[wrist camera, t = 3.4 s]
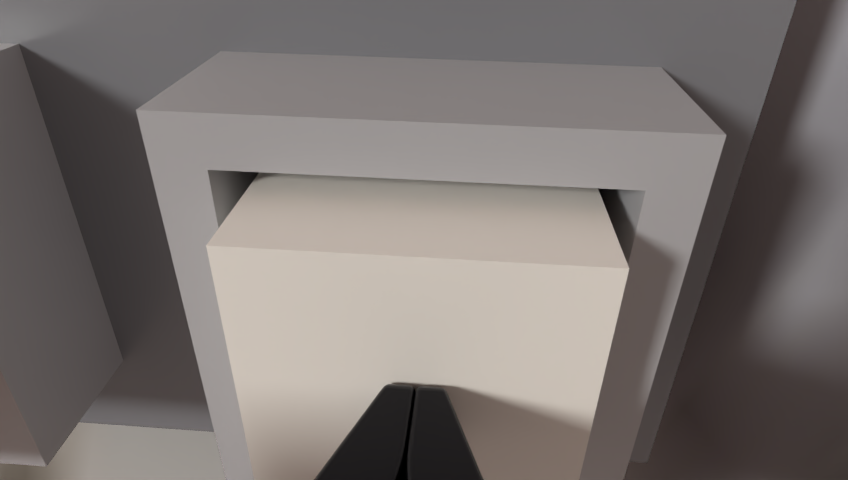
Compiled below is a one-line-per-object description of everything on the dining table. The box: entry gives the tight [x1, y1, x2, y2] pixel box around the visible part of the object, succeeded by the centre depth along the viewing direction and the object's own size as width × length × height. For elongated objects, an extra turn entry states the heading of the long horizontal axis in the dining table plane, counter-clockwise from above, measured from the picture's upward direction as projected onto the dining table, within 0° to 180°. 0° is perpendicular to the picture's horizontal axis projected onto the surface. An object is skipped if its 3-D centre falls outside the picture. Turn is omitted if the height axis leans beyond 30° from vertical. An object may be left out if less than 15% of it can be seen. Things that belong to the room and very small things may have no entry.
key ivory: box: [206, 172, 629, 480], centre depth 10 cm, size 5×5×3 cm
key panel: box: [0, 0, 797, 480], centre depth 12 cm, size 12×22×5 cm, turn 89°
